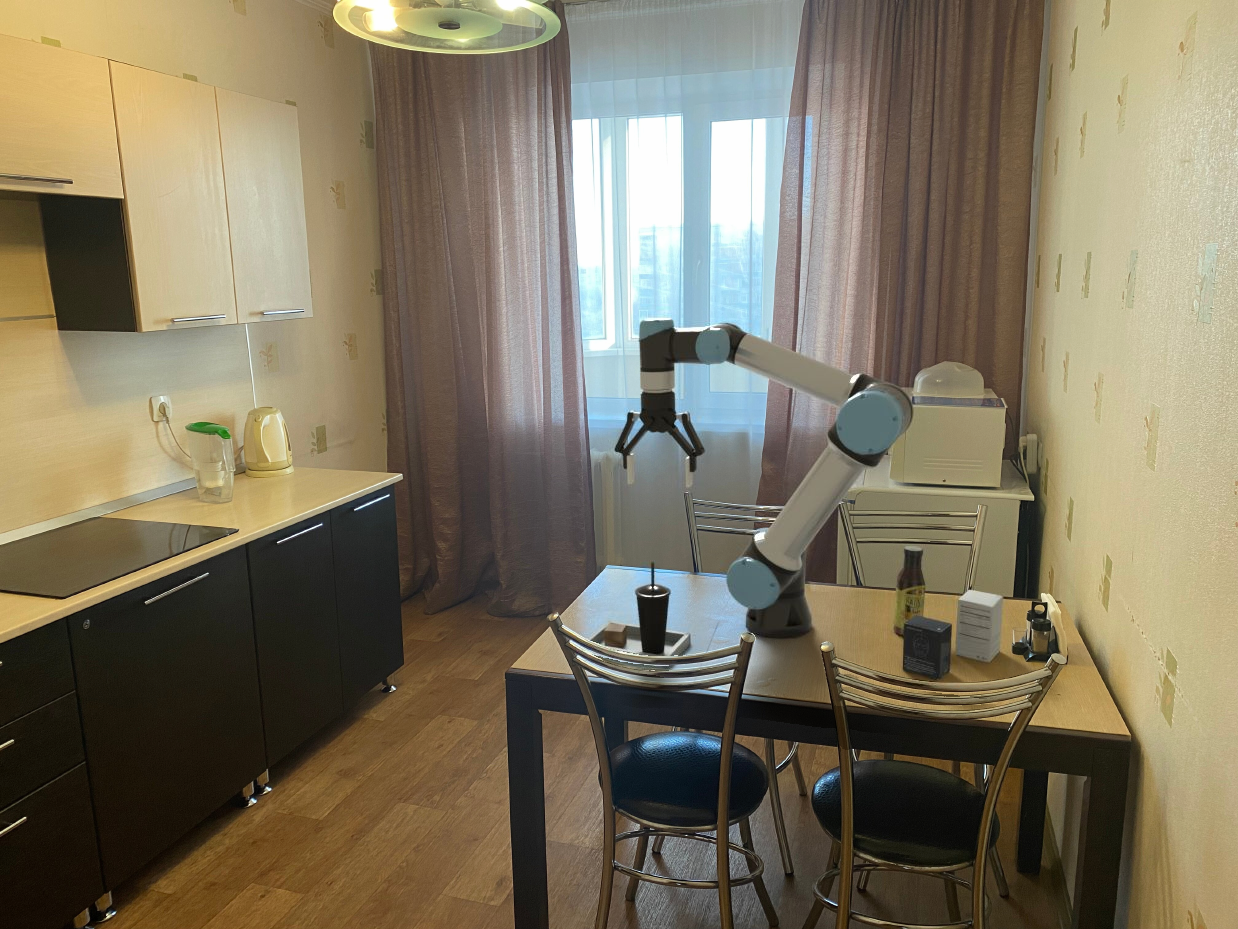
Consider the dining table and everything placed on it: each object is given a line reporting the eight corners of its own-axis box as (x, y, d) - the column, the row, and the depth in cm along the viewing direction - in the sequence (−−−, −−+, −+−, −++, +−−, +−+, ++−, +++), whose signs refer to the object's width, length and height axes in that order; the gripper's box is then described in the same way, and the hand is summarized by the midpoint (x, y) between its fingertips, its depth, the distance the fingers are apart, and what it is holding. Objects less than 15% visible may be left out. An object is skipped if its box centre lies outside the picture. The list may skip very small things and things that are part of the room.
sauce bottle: (905, 639, 200) (909, 554, 195) (887, 629, 205) (890, 546, 201) (929, 634, 202) (933, 550, 198) (910, 625, 208) (914, 542, 203)
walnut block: (626, 641, 201) (626, 624, 200) (622, 649, 197) (621, 631, 196) (609, 640, 202) (609, 623, 201) (604, 647, 198) (604, 630, 197)
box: (950, 671, 184) (953, 623, 181) (938, 681, 180) (941, 631, 177) (913, 661, 189) (916, 613, 187) (901, 670, 185) (903, 622, 183)
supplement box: (965, 643, 197) (969, 588, 194) (1000, 651, 193) (1004, 595, 190) (953, 654, 192) (957, 598, 189) (989, 663, 187) (993, 606, 184)
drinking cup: (668, 658, 191) (668, 568, 187) (633, 656, 193) (631, 567, 189) (672, 644, 199) (672, 557, 195) (638, 642, 200) (637, 556, 196)
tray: (690, 645, 199) (690, 633, 199) (666, 671, 187) (666, 658, 186) (609, 632, 208) (608, 620, 207) (581, 656, 195) (580, 643, 195)
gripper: (717, 388, 196) (718, 483, 200) (610, 386, 204) (613, 478, 209) (708, 393, 189) (709, 491, 193) (598, 391, 197) (601, 485, 202)
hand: (659, 484), depth 201 cm, fingers open, 13 cm apart
